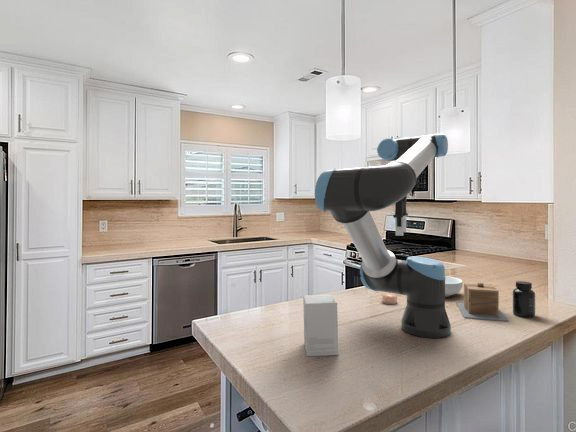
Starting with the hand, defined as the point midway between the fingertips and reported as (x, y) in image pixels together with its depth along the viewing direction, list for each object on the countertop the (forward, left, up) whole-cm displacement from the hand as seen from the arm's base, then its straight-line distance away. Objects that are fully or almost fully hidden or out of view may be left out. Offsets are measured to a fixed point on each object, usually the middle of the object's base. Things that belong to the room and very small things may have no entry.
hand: (401, 233), depth 131 cm
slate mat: (+5, -28, -30) cm, 41 cm away
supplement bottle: (+5, -42, -30) cm, 52 cm away
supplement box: (-43, +23, -30) cm, 57 cm away
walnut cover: (+5, -28, -29) cm, 41 cm away
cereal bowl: (+27, -17, -30) cm, 44 cm away
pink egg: (+9, +5, -30) cm, 31 cm away
